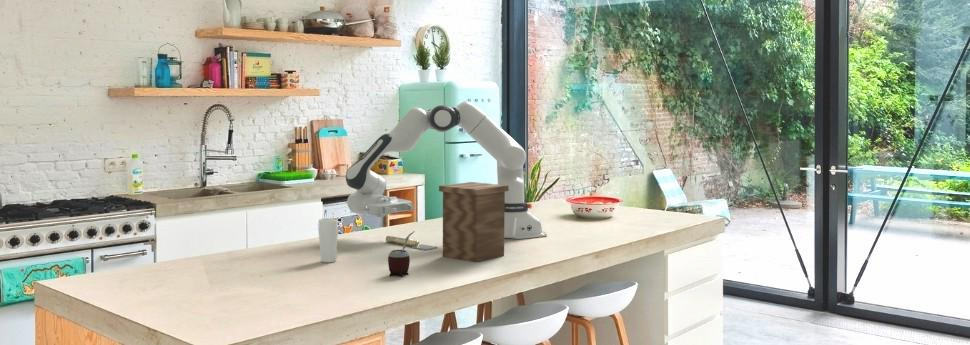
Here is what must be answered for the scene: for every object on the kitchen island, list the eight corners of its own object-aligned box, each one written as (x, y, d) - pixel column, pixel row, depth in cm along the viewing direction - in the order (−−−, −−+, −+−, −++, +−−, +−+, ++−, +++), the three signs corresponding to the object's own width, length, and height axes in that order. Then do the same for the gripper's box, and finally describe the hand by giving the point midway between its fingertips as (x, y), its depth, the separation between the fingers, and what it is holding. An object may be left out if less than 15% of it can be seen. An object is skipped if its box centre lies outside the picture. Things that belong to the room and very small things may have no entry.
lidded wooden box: (438, 256, 319) (438, 185, 317) (470, 249, 333) (470, 181, 330) (476, 262, 308) (477, 189, 305) (507, 255, 322) (508, 185, 319)
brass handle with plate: (382, 243, 346) (382, 236, 346) (393, 241, 351) (393, 234, 351) (426, 250, 331) (426, 243, 331) (437, 248, 336) (437, 241, 335)
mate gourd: (385, 273, 289) (385, 228, 288) (408, 272, 292) (408, 227, 290) (391, 278, 282) (391, 232, 281) (415, 276, 285) (415, 231, 283)
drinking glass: (340, 259, 311) (340, 218, 310) (335, 263, 305) (334, 221, 303) (321, 259, 312) (321, 217, 311) (316, 263, 305) (315, 220, 304)
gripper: (359, 200, 342) (384, 203, 333) (396, 196, 358) (421, 198, 349) (360, 216, 342) (384, 220, 334) (397, 211, 358) (421, 214, 349)
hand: (403, 209), depth 341 cm, fingers open, 8 cm apart
